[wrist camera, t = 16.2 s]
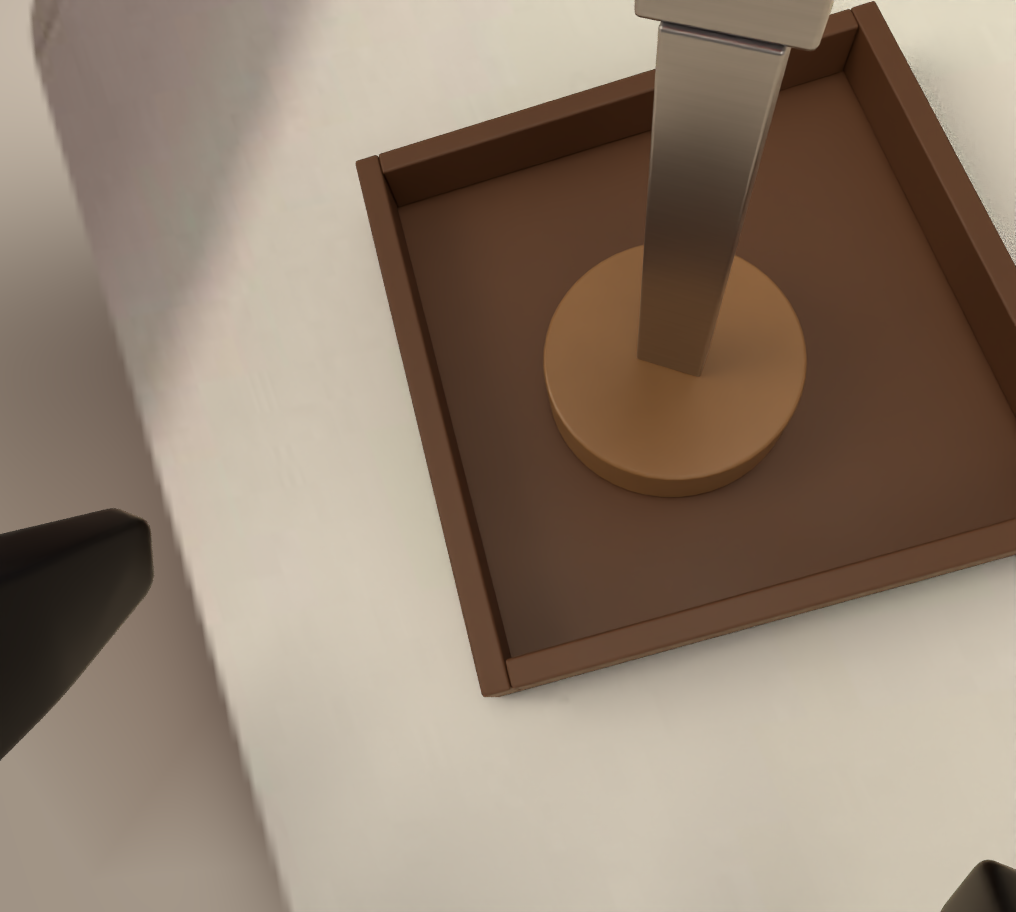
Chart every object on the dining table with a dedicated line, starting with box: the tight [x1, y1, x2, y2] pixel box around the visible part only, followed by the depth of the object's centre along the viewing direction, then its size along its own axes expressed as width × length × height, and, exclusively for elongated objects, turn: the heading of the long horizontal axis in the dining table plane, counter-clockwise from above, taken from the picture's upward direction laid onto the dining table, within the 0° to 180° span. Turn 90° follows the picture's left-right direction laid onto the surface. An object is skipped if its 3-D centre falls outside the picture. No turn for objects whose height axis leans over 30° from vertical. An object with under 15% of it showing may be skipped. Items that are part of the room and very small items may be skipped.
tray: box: [356, 1, 1016, 697], centre depth 18 cm, size 13×13×2 cm
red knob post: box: [543, 0, 834, 497], centre depth 11 cm, size 6×6×16 cm
